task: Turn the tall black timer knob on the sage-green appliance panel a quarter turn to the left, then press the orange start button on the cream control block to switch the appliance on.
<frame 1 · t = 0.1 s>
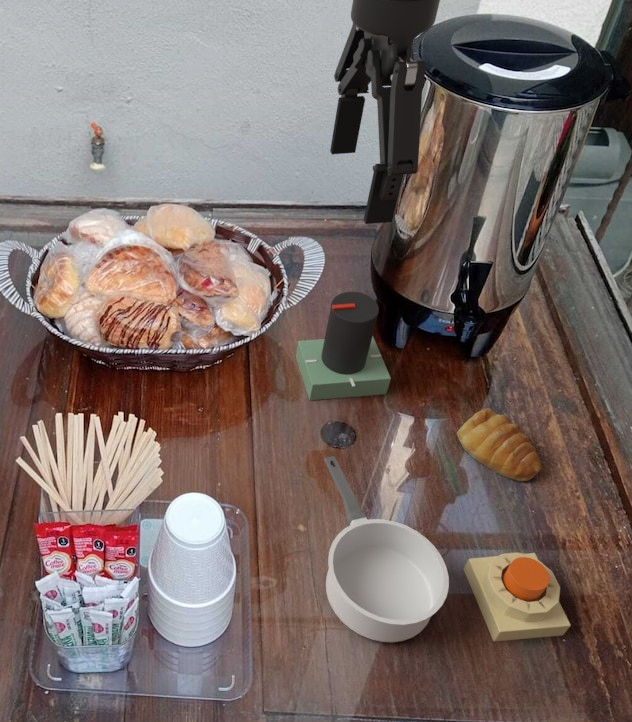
hand: (359, 184, 84), 28 cm above the table, tool pointing down, fingers open, 13 cm apart
timer knob: (349, 332, 96), point 8 cm above the table, hinge at 0.0°
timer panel: (339, 375, 102), on the table
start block: (511, 601, 79), on the table
pastry: (493, 450, 92), on the table
start button: (526, 578, 75), point 5 cm above the table, slide at 0.1 cm
saucepan: (359, 561, 83), on the table
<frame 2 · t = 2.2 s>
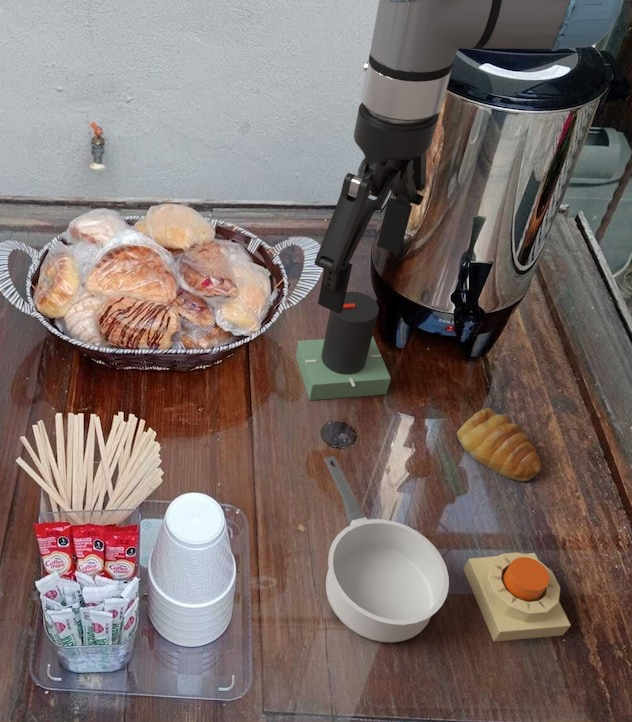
hand: (360, 277, 90), 17 cm above the table, tool pointing down, fingers open, 13 cm apart
nothing on the table moved.
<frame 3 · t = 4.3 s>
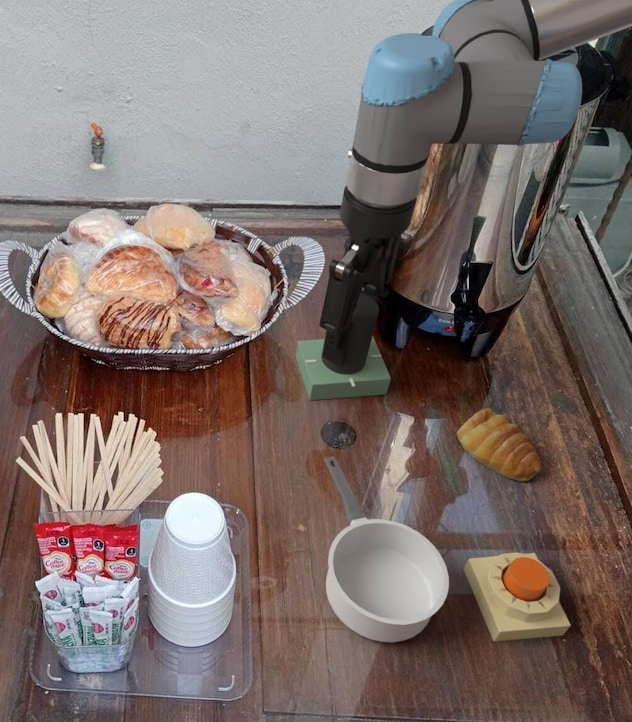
hand: (346, 346, 98), 5 cm above the table, tool pointing down, fingers closed on timer knob, 6 cm apart
timer knob: (349, 332, 96), point 8 cm above the table, hinge at -0.1°, touching gripper
everything else where it was.
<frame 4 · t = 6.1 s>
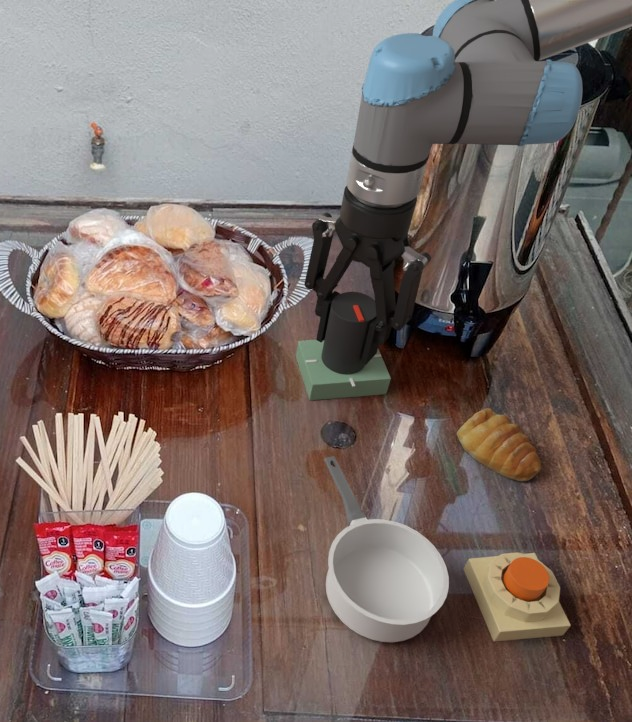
hand: (346, 346, 98), 5 cm above the table, tool pointing down, fingers closed on timer knob, 6 cm apart
timer knob: (349, 332, 96), point 8 cm above the table, hinge at 90.2°, touching gripper
everything else where it was.
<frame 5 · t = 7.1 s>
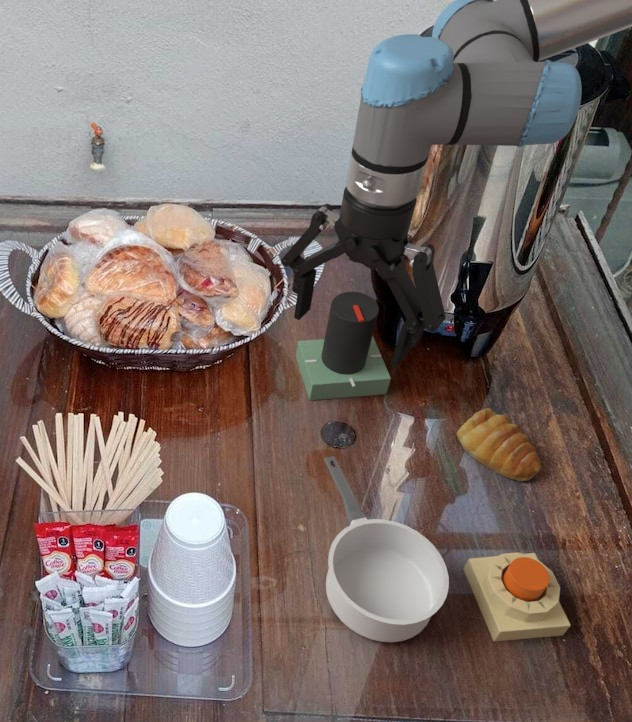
hand: (348, 336, 97), 7 cm above the table, tool pointing down, fingers open, 13 cm apart
timer knob: (349, 332, 96), point 8 cm above the table, hinge at 90.1°
everything else where it was.
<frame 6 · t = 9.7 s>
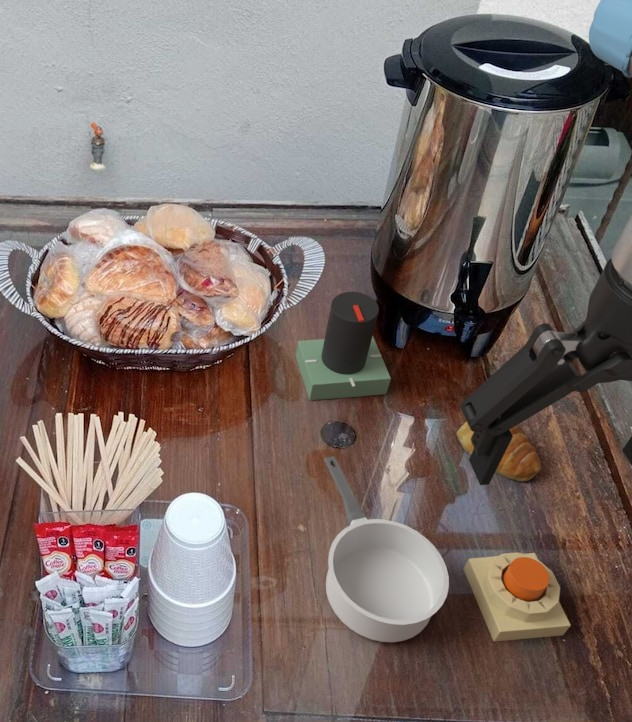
hand: (556, 467, 67), 19 cm above the table, tool pointing down, fingers open, 13 cm apart
nothing on the table moved.
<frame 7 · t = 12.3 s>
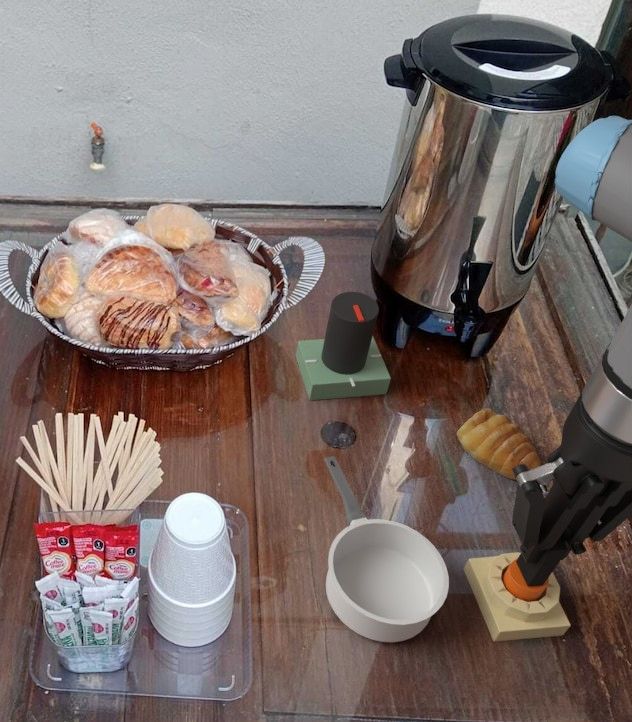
hand: (529, 573, 75), 6 cm above the table, tool pointing down, fingers closed
start button: (525, 579, 75), point 4 cm above the table, slide at 0.0 cm, touching gripper
everything else where it was.
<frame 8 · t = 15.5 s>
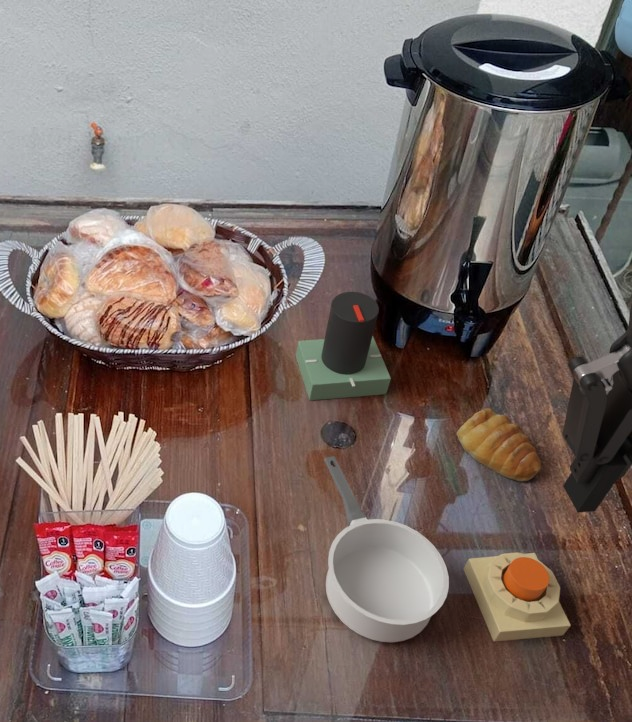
hand: (578, 498, 66), 18 cm above the table, tool pointing down, fingers closed
start button: (526, 578, 75), point 5 cm above the table, slide at 0.1 cm
everything else where it was.
at the end: timer knob at +90° (first picture: +0°); start button pushed in 1.0 cm at the most during the clip, back to where it started at the end; start button slide at 0.1 cm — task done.
